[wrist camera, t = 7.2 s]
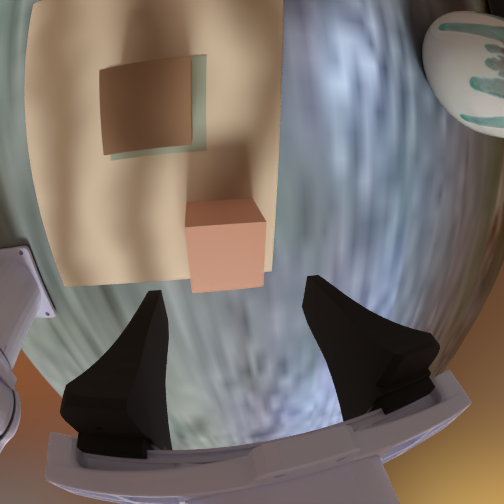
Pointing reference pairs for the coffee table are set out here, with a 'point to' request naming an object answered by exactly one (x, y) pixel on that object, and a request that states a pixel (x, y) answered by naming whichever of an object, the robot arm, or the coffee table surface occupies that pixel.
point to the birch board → (157, 159)
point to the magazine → (496, 7)
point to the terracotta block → (225, 244)
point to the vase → (468, 68)
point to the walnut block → (146, 105)
